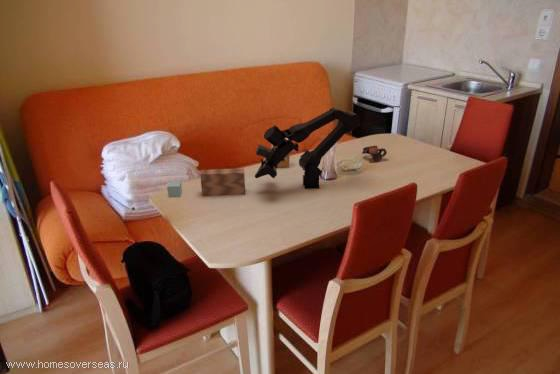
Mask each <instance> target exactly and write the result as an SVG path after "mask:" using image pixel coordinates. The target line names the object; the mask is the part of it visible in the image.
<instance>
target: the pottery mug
mask: <svg viewBox="0 0 560 374" xmlns="http://www.w3.org/2000/svg"><path fill="white" fill-rule="evenodd" d="M382 152H383V153H382ZM387 153H388V152H387V150H386V148H382V147H381V148H379V147H378V145H370V146H366V147H363V148H362V153H361V154H362V155H363V154H364V155H365V154H367V155H368V154H369V155H370V156H371V157H368V163H374V162H375V163H379V162H380V161H381V159H382V158H384V157H385V156H386V155H387Z"/></svg>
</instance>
